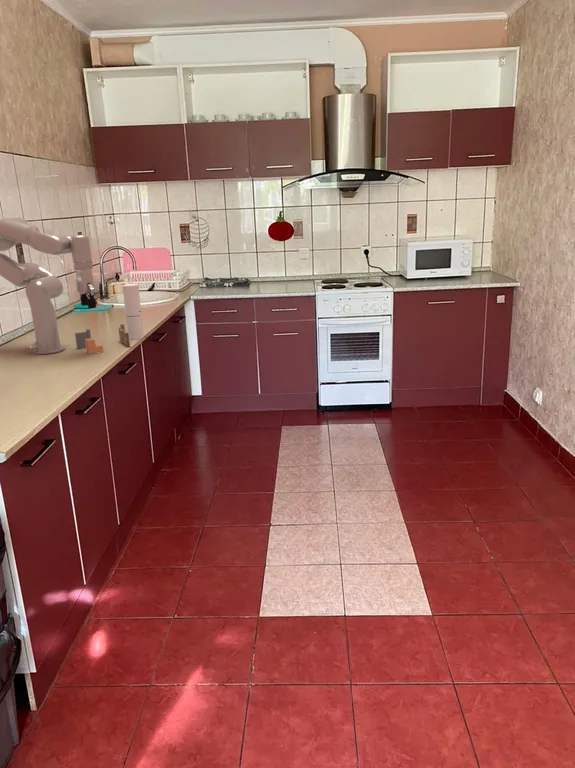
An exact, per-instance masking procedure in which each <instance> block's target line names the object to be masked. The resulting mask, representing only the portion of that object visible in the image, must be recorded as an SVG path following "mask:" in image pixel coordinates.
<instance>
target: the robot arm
mask: <svg viewBox="0 0 575 768" xmlns="http://www.w3.org/2000/svg"><path fill="white" fill-rule="evenodd" d="M90 241H91V240H90V237H89V236H88V235H87V234H74V235H73V234H59V235H52V234H51V235H50V234H46V233H43V232H40V229H39V227H37V226H36V225H34V224H30V223H28V221H26V220H25V219H23V218H21V217H10V218H9V217H8V218H3V219H0V276H1V277H2V279H3V278H4V279H5V280H6V281H8V282H9V283H11V284H12V285H14V286H16V287H18V288H19V287H20V288H24V287H25V295H26V298H27V300H28V303H29V306H30V307H29V308H30V312H31V319H32V322H33V330H34V337H35V341H34V343H32V344H26V345H24V348H25V350H33V353H34V354H35V355H50V354H57V353H61V352H63V351H65V350H66V349H65V346H64V345H61V340H60V333H59V327H58V321H57V314H56V309H55V307H54V304H53V302H52V300H51V299H56V298H58V297H60V296H61V295H62V293H63V292H64V285H63V283H62V281H61V280H60V279H59V278H58V277H57V276H56V275H54V274H53V273H51V272H50V271H48V270H47V269H45V268H44V267H43V266H41V265H40V264H37V263H34V262H24V263H20V262H17V261H15V260H14V259H13V258H12V257H10V256H8V255H6V254H3V253H2V252H6V251H8V250H11V248H14V247H15V246H16V245H17V244H19V243H20V244H23V245H27V246H30V247H31V248H32V249H33V250H35V251H38V252H41V253H45V254H48V255H53V256H58V255H66V254H71V256H72V257H71V258H72V263H73V270H74V271H75V283H76V284H75V285H76V290H77V293H78V294H79V296H80V303H81V306H82V307H85V306H87V307H88V309H91V310H92V309H96V308H97V303H96V302H97V301H96V296H95V291H96V288H95V283H94V282H95V281H94V278H93V277H94V276H93V272H92V270H93V269H94V266H93V257H92V251H91V244H90V243H91V242H90Z"/></svg>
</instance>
